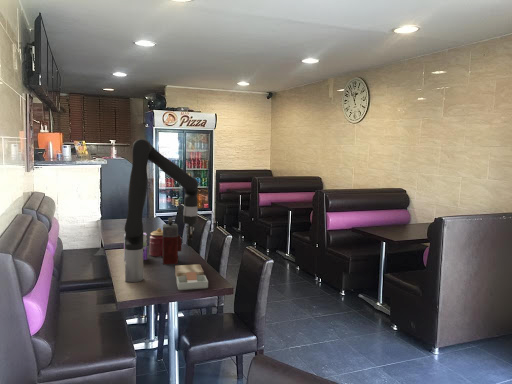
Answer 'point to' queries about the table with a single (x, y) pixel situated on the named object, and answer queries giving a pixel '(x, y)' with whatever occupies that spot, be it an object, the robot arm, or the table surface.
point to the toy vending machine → (171, 243)
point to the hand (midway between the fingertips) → (189, 245)
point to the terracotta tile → (191, 276)
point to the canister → (156, 243)
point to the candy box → (143, 246)
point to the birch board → (188, 270)
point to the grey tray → (192, 283)
